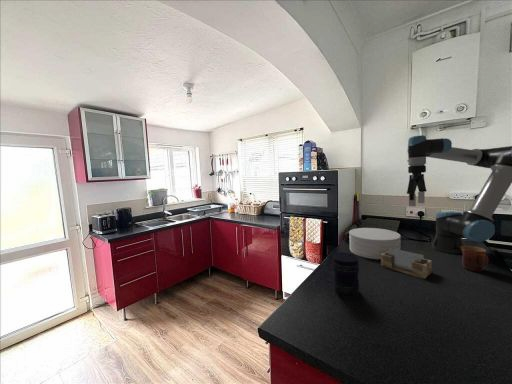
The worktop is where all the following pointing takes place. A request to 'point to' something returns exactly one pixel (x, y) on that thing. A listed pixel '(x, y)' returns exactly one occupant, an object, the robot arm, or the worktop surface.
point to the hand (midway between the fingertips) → (416, 204)
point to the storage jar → (346, 274)
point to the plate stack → (373, 242)
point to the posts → (417, 268)
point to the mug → (474, 258)
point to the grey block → (405, 258)
